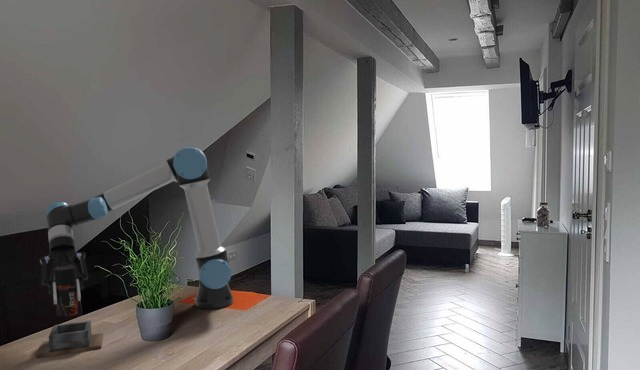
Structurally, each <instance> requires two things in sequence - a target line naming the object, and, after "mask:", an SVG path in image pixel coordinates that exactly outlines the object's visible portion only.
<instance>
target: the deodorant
mask: <svg viewBox="0 0 640 370" xmlns="http://www.w3.org/2000/svg"><path fill="white" fill-rule="evenodd" d="M76 266H77V265H76ZM76 266H68V265H63V266H59V267H57V268H55V280H54V282H55V283H56V294H57V304H55V305H56V316H57V317H59V318H66V317H73V316H75V315H77V314H78V312H79V311H78V308H79V307H78V298H77V287H76Z"/></svg>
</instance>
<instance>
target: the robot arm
mask: <svg viewBox="0 0 640 370" xmlns="http://www.w3.org/2000/svg"><path fill="white" fill-rule="evenodd" d="M208 168H209V167H208V160H207V157H206V154H205V153H204V152H203V151H202V150H201V149H200V148H198V147H195V146H185V147H182V148H180V149H178V150H177V152H176V153H175V155H173V156H172V157H170V158H168V159H166V160H164V164H161V165H160V166H156V168H155V167H154V168H153V169H151V170H149V171H146V172H144V173H142V174H141V175H138V176H136V177H133V178H131V179H130V180H127V181H125V182H124V183H121V184H119V185H117V186H114V187H113V188H110V189H109V190H107V191H104V192H102V193H100V194H98V195H96V196H94V197H91V198H89V199H87V200H84V201H81V202H78V203H74V204H71V205H70V204H68V202H67V203H66V202H64V201H61V202H58V201H56V202H53V203H51V204H49V205H48V206H47V208H46V222H47V223H46V225H47V235H48V247H49V254H48V255H47V256H44V255H41V256H40V257H39V263H40V266H41V285H42V287H45V286H48V294H49V295H50V296H51V295H52V296H53V305H56V304H57V294H56V283H55V268H57V267H62V266H76V287H77V302H81V300H82V299H81V298H82V296H81V291H84V281H88V279H89V272H88V268H87V267H88V266H87V263H86V253H87V252H85V251H82V252H77V250H76V248H75V241H74V238H75V237H74V231H73V227H76V226H79V225H82V224H86V223H89V222H93V221H96V220H100V219H102V218H106V217H107V216H108V215H109V213H110V212H112V211H113V210H116V209H117V208H120V207H122V206H125V205H126V204H128V203H131V202H132V201H135V200H137V199H139V198H141V197H143V196H145V195H147V194H149V193H152V192H153V191H156V190H157V189H160V188H162V187H165V186H166V185H168V184H171V183H172V182H175V183H177V184H178V186H179V187H180V188H181V189H183V190H184V193H185V199H186V204H187V208H188V212H189V216H190V220H191V221H190V222H191V225H192V229H193V233H194V237H195V243H196V247H197V252H196V254H195V262H196V264H197V268H198V283H199V284H198V285H199V286H198V289H197V293H196V296H195V302H194V303H195V307H196V308H198V309H206V310H212V309H220V308H225V307H228V306H230V305H232V304H233V303H234V297H233V293H232V290H231V288H230V285H229V282H230V280H231V278H232V273H233V271H232V266H230V262H229V258H228V257H229V256H228V254H229V253H228V249H227V248H226V247H224V246H223V245H222V244H221V240H220V235H219V232H218V227H217V222H216V219H215V214H214V208H213V205H212V200H211V196H210V195H211V194H210V192H209V186H208V183H209V182H210V181H211V178H210V177H211V176H210V172H209V169H208ZM76 258H78V260H79V261H80V268H81V272H82V274H81V272H80V269H79V268H78V266H77V265H76V263H75V259H76ZM49 261H50V262H51V263H53V266H52V268H51V272H50V275H49V277H48V279H47V264H48V263H49Z"/></svg>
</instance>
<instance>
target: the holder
mask: <svg viewBox="0 0 640 370" xmlns="http://www.w3.org/2000/svg"><path fill="white" fill-rule="evenodd" d="M103 338H104V332H101V333H100V332H99V333H95V334H92V320H86V321H77V322H68V323H62V324H61V323H60V324H54V325H53V327H52V328H51V330H50V333H49V335H48V340H44V341H42V342H41V345H40V347H39V349H38V350H37V353H36V355H35V356H36V359H40V358H46V357H52V356H59V355H66V354H72V353H73V354H74V353H80V352H85V351H86V352H87V351H92V350H100V349H102V345H103V340H104V339H103Z"/></svg>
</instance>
